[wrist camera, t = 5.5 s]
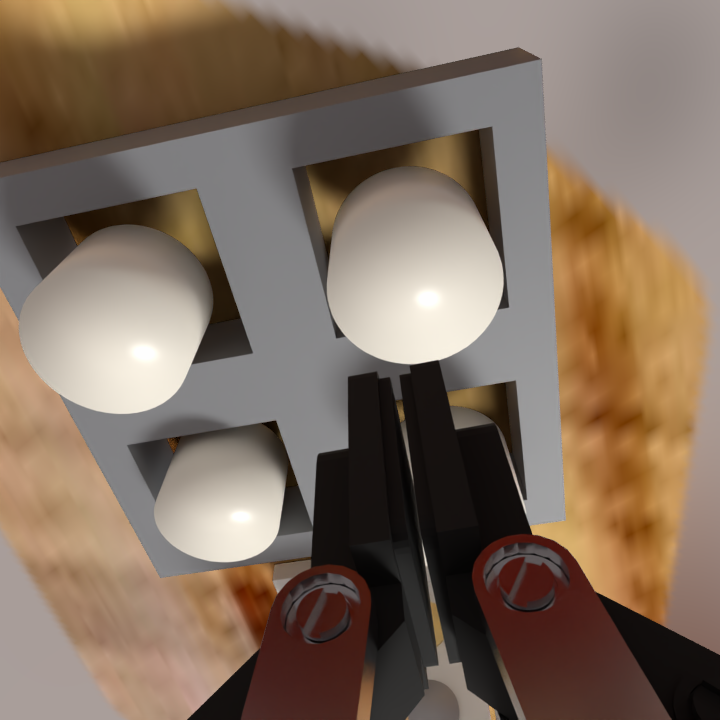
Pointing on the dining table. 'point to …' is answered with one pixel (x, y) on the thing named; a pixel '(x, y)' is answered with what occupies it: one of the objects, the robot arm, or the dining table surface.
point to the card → (446, 682)
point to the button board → (306, 276)
